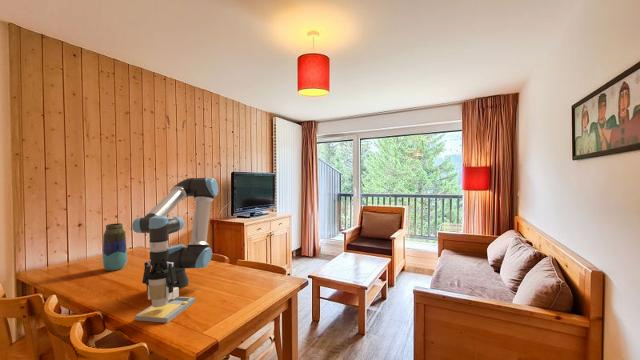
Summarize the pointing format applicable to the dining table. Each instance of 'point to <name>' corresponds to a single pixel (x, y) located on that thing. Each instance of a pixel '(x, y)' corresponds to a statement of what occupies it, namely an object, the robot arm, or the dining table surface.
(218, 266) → the dining table surface
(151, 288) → the coffee cup
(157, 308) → the panel
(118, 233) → the vase
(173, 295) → the breaker slider
